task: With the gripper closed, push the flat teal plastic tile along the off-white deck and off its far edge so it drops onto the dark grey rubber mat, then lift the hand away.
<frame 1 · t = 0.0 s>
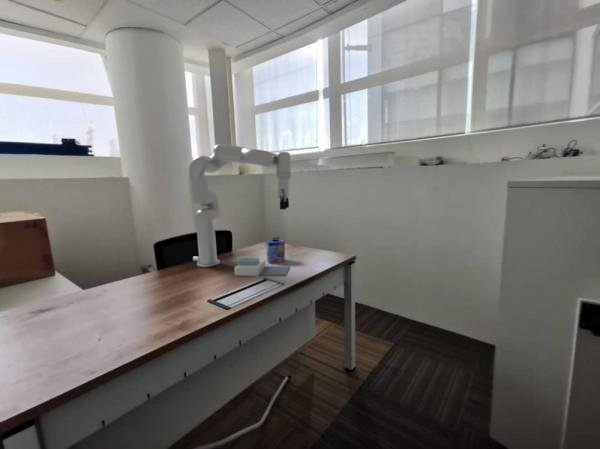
hand: (284, 208, 149), 31 cm above the table, tool pointing down, fingers open, 9 cm apart
mat: (275, 271, 142), on the table
ink cartridge box: (275, 261, 160), on the table
deck: (250, 271, 144), on the table
teal tile: (249, 263, 143), point 4 cm above the table, touching deck
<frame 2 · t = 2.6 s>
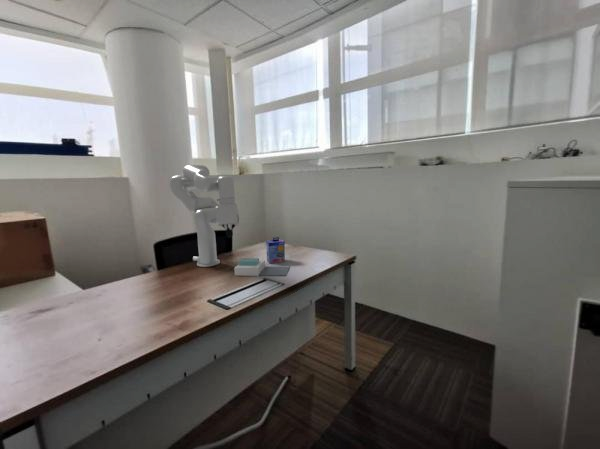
hand: (229, 237, 142), 18 cm above the table, tool pointing down, fingers closed
nothing on the table moved.
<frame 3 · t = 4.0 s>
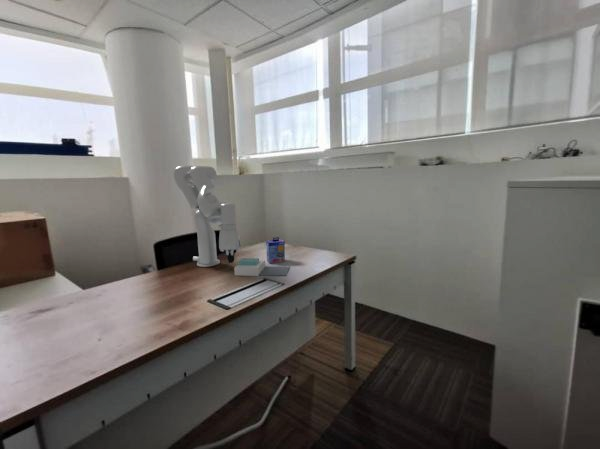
hand: (231, 262, 144), 5 cm above the table, tool pointing down, fingers closed
nothing on the table moved.
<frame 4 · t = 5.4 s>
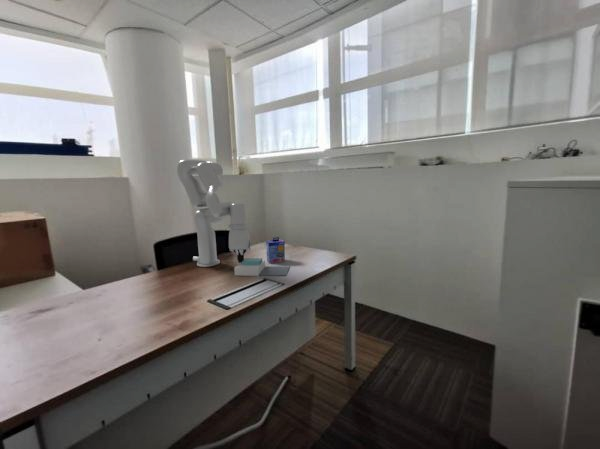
hand: (240, 261, 143), 5 cm above the table, tool pointing down, fingers closed
teal tile: (252, 263, 143), point 4 cm above the table, touching gripper
everything else where it was.
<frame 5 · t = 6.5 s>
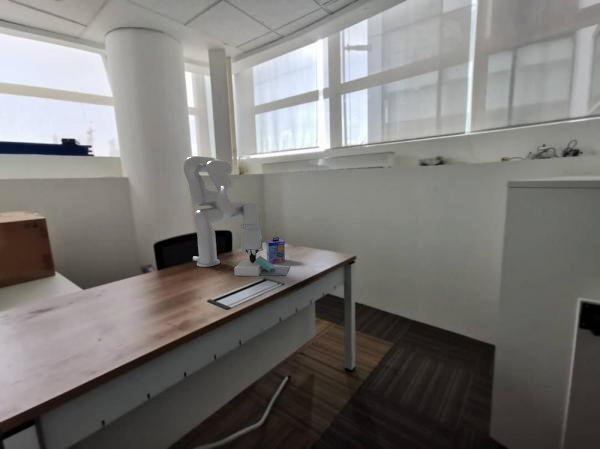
hand: (253, 262, 143), 5 cm above the table, tool pointing down, fingers closed
teal tile: (263, 265, 142), point 3 cm above the table, tilted 36°, touching deck
everything else where it was.
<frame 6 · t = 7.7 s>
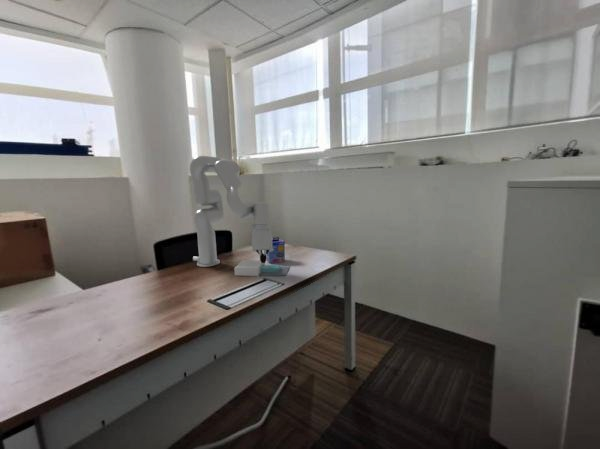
hand: (263, 262, 142), 5 cm above the table, tool pointing down, fingers closed
teal tile: (270, 270, 142), resting on mat
everything else where it was.
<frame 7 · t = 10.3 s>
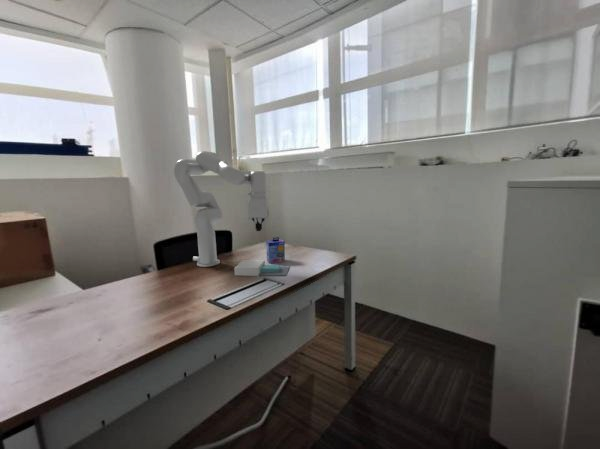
hand: (258, 230, 145), 20 cm above the table, tool pointing down, fingers closed
nothing on the table moved.
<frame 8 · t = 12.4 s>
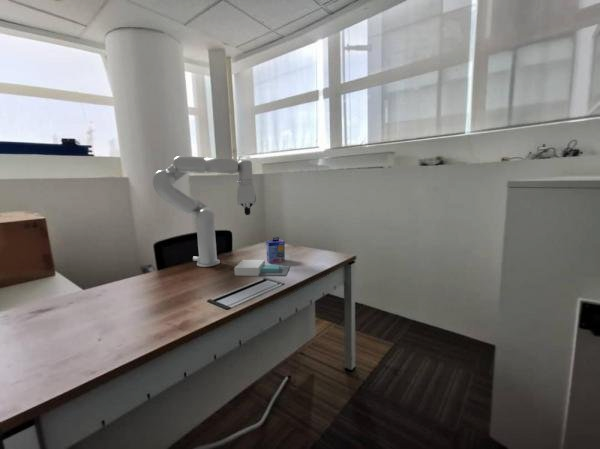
hand: (247, 214, 160), 27 cm above the table, tool pointing down, fingers closed
nothing on the table moved.
at the end: teal tile inside the target area (2.7 cm from its centre), resting on mat; teal tile touching mat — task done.
